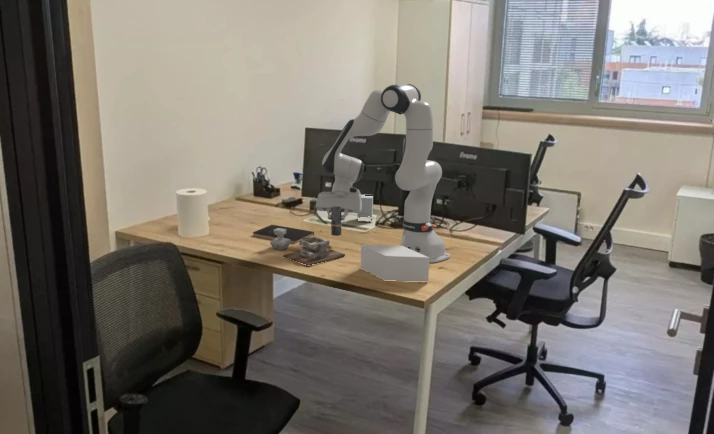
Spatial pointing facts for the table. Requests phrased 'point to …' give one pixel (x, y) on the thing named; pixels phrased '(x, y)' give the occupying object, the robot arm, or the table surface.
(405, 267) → the grey wedge block
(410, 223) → the robot arm
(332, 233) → the tube
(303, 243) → the collar stand
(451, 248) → the table surface
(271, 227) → the hardcover book
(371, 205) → the supplement box
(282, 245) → the stamp
